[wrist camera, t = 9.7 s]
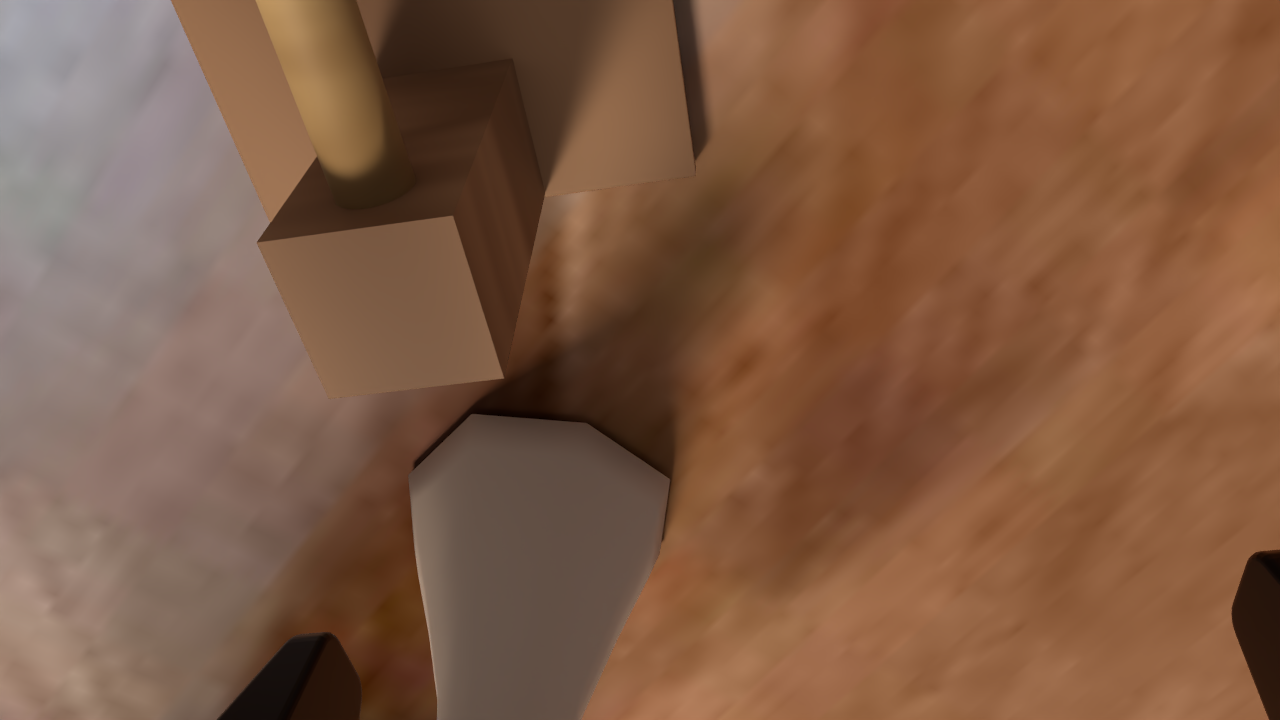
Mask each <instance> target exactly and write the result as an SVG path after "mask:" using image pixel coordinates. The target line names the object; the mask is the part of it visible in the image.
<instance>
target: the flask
mask: <svg viewBox="0 0 1280 720" xmlns="http://www.w3.org/2000/svg"><path fill="white" fill-rule="evenodd" d="M408 477H409V489H410V500H411V512H412V523H413V534H414V546H415V554H416V562H417V569H418V576H419V581H420V587H421V593H422V598H423V604H424V609H425V615H426V621H427V626H428V632H429V638H430V646H431V654H432V661H433V669H434V677H435V685H436V693H437V700H438V704H437V720H581V719H582V716H583V714H584V712H585V710H586V707H587V705H588V703H589V701H590V699H591V696H592V694H593V692H594V690H595V688H596V685H597V683H598V681H599V679H600V676H601V674H602V672H603V670H604V668H605V665H606V663H607V661H608V659H609V656H610V654H611V652H612V650H613V648H614V645H615V643H616V641H617V639H618V637H619V635H620V633H621V631H622V629H623V627H624V625H625V623H626V621H627V619H628V617H629V615H630V613H631V611H632V609H633V607H634V605H635V603H636V601H637V599H638V597H639V595H640V593H641V591H642V589H643V587H644V585H645V583H646V582H647V580H648V578H649V575H650V573H651V571H652V569H653V567H654V564H655V562H656V560H657V558H658V556H659V554H660V548H661V541H662V534H663V527H664V520H665V513H666V506H667V499H668V492H669V485H670V479H669V478H668V477H666V476H665V475H663V474H662V473H660V472H659V471H657V470H656V469H654V468H653V467H651V466H650V465H648V464H647V463H645V462H644V461H642V460H641V459H639V458H638V457H636V456H635V455H633V454H632V453H630V452H629V451H627V450H626V449H624V448H623V447H621V446H620V445H618V444H617V443H616V442H614V441H613V440H611V439H610V438H608V437H607V436H605V435H604V434H602V433H601V432H599V431H598V430H596V429H595V428H593V427H592V426H590V425H589V424H587V423H581V422H569V421H556V420H543V419H530V418H518V417H505V416H492V415H479V414H471V415H470V416H469V417H468V418H467V419H466V420H465V421H464V422H463V423H462V424H461V425H460V426H459V427H458V428H457V429H456V430H455V431H453V432H452V433H451V434H450V435H449V436H448V437H447V438H446V439H445V440H444V441H443V442H442V443H441V444H440V445H439V446H438V447H437V448H436V449H435V450H434V451H433V452H432V453H431V454H430V455H429V456H428V457H427V458H426V459H424V460H423V461H422V462H421V463H420V464H419V465H418V466H417V467H416V468H415V469H414V470H413V471H412V472H411V473H410V474H409V475H408Z"/></svg>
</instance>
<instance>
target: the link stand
mask: <svg viewBox="0 0 1280 720" xmlns="http://www.w3.org/2000/svg"><path fill="white" fill-rule="evenodd" d="M171 1H172V4H173V6H174V8H175V10H176V13H177V15H178V17H179V19H180V22H181V24H182V26H183V28H184V31H185V33H186V35H187V37H188V40H189V42H190V44H191V46H192V49H193V51H194V53H195V55H196V57H197V60H198V62H199V64H200V66H201V69H202V71H203V73H204V75H205V78H206V80H207V82H208V84H209V87H210V89H211V91H212V93H213V96H214V98H215V100H216V102H217V105H218V107H219V109H220V111H221V113H222V116H223V118H224V120H225V122H226V125H227V127H228V129H229V131H230V134H231V136H232V138H233V140H234V143H235V145H236V147H237V149H238V152H239V154H240V156H241V158H242V161H243V163H244V165H245V167H246V169H247V172H248V174H249V176H250V178H251V181H252V183H253V185H254V187H255V190H256V192H257V194H258V196H259V199H260V201H261V203H262V205H263V208H264V210H265V212H266V214H267V217H268V219H269V221H270V224H269V226H268V227H267V229H266V230H265V231H264V233H263V234H262V236H261V237H260V239H259V240H258V241H257V244H258V247H259V249H260V251H261V253H262V255H263V257H264V260H265V262H266V264H267V266H268V268H269V270H270V273H271V275H272V277H273V279H274V281H275V283H276V286H277V288H278V290H279V292H280V294H281V296H282V299H283V301H284V303H285V305H286V307H287V309H288V311H289V314H290V316H291V318H292V320H293V322H294V324H295V327H296V329H297V331H298V333H299V335H300V337H301V340H302V342H303V344H304V346H305V348H306V350H307V353H308V355H309V357H310V359H311V361H312V363H313V366H314V368H315V370H316V372H317V374H318V376H319V378H320V381H321V383H322V385H323V387H324V389H325V391H326V394H327V396H328V398H329V399H333V398H341V397H350V396H358V395H367V394H375V393H384V392H392V391H401V390H409V389H418V388H426V387H435V386H443V385H452V384H460V383H469V382H477V381H486V380H495V379H503V378H504V376H505V372H506V367H507V363H508V358H509V354H510V349H511V345H512V340H513V336H514V331H515V327H516V322H517V318H518V313H519V309H520V304H521V300H522V295H523V291H524V286H525V282H526V277H527V273H528V268H529V264H530V259H531V255H532V250H533V246H534V241H535V236H536V232H537V227H538V223H539V218H540V214H541V209H542V205H543V200H544V197H549V196H556V195H563V194H571V193H578V192H585V191H592V190H599V189H607V188H614V187H621V186H628V185H635V184H643V183H650V182H657V181H664V180H671V179H679V178H686V177H693V176H696V166H695V157H694V150H693V143H692V135H691V128H690V121H689V113H688V106H687V99H686V91H685V84H684V77H683V69H682V62H681V55H680V47H679V40H678V33H677V25H676V18H675V11H674V3H673V0H171Z"/></svg>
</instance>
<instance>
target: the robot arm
mask: <svg viewBox="0 0 1280 720" xmlns="http://www.w3.org/2000/svg"><path fill="white" fill-rule="evenodd" d="M1232 622H1233V627H1234V630H1235V633H1236V636H1237V639H1238V641H1239V644H1240V646H1241V649H1242V652H1243V654H1244V657H1245V659H1246V662H1247V664H1248V667H1249V670H1250V672H1251V675H1252V677H1253V680H1254V682H1255V685H1256V688H1257V690H1258V693H1259V695H1260V698H1261V700H1262V703H1263V706H1264V708H1265V711H1266V713H1267V716H1268V718H1269V720H1280V550H1270V551H1260V552H1256V553H1254V554H1253V555H1252V556H1251V557H1250V558H1249V559H1248V561H1247V564H1246V567H1245V570H1244V573H1243V575H1242V578H1241V581H1240V584H1239V587H1238V590H1237V593H1236V596H1235V599H1234V602H1233V606H1232ZM361 703H362V687H361V682H360V678H359V676H358V674H357V672H356V670H355V668H354V667H353V665H352V663H351V661H350V660H349V658H348V656H347V654H346V652H345V651H344V649H343V647H342V645H341V644H340V642H339V640H338V639H337V637H336V636H335V635H333V634H331V633H330V632H321V633H309V634H300V635H296V636H294V637H292V638H291V639H289V640H288V641H287V642H286V643H285V644H284V645H283V646H282V647H281V648H280V649H279V651H278V652H277V653H276V654H275V655H274V656H273V657H272V658H271V659H270V661H269V662H268V663H267V664H266V665H265V666H264V667H263V668H262V670H261V671H260V672H259V673H258V674H257V675H256V676H255V677H254V678H253V680H252V681H251V682H250V683H249V684H248V685H247V686H246V687H245V688H244V690H243V691H242V692H241V693H240V694H239V695H238V696H237V697H236V699H235V700H234V701H233V702H232V703H231V704H230V705H229V706H228V707H227V709H226V710H225V711H224V712H223V713H222V714H221V715H220V716H219V717H218V719H217V720H359V719H360V711H361Z"/></svg>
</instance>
